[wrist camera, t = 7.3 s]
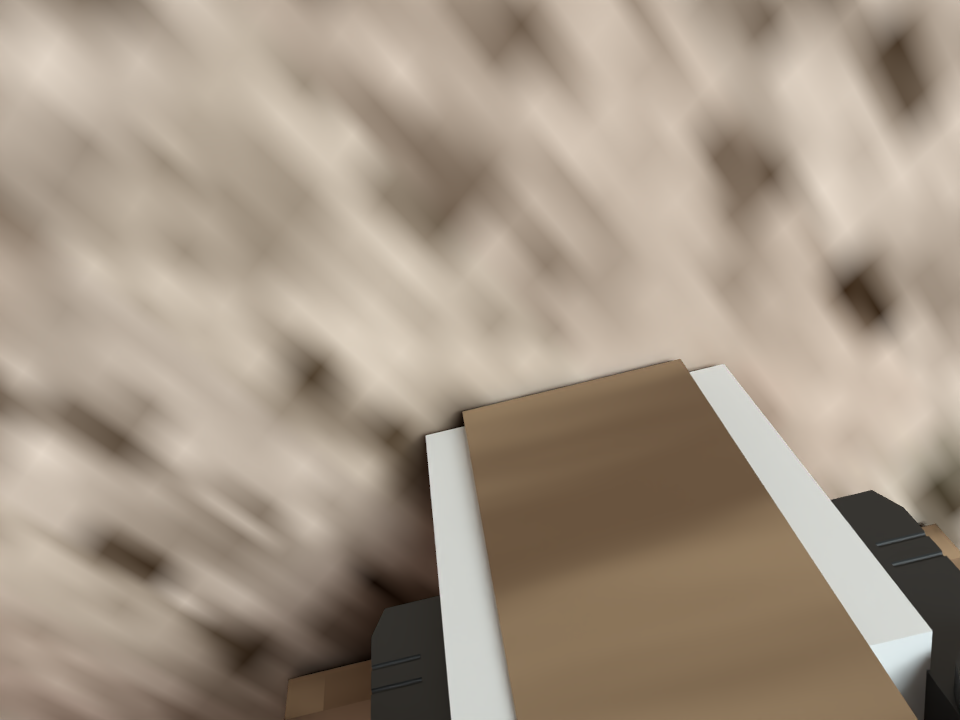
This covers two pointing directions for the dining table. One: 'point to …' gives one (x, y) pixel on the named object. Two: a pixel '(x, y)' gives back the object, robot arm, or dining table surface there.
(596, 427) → the brown open frame
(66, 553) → the dining table surface
